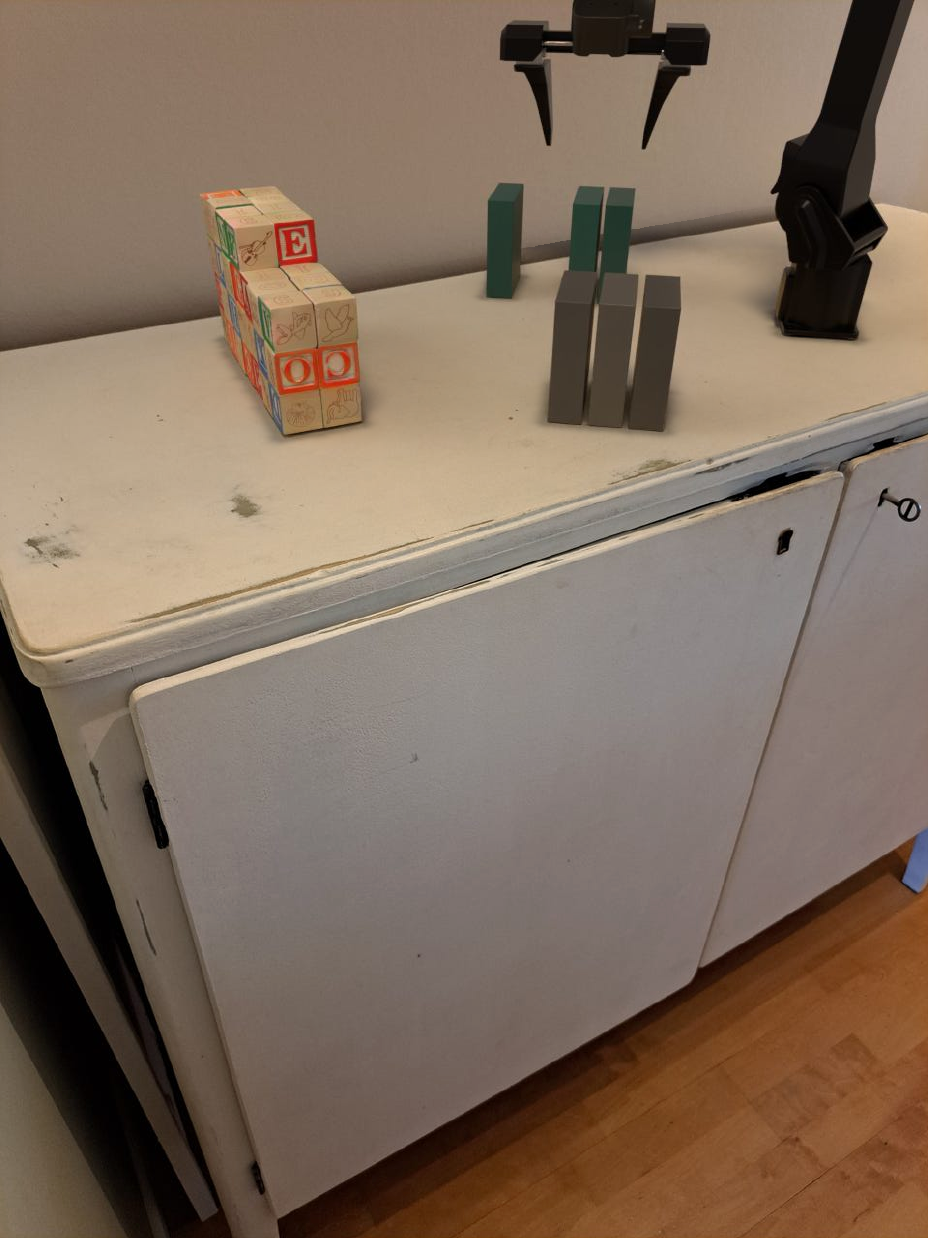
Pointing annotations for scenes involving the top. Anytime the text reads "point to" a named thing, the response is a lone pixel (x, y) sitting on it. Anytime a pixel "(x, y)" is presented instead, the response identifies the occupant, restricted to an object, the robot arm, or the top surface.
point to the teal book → (504, 239)
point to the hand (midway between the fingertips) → (595, 146)
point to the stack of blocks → (283, 309)
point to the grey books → (613, 349)
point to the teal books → (589, 230)
